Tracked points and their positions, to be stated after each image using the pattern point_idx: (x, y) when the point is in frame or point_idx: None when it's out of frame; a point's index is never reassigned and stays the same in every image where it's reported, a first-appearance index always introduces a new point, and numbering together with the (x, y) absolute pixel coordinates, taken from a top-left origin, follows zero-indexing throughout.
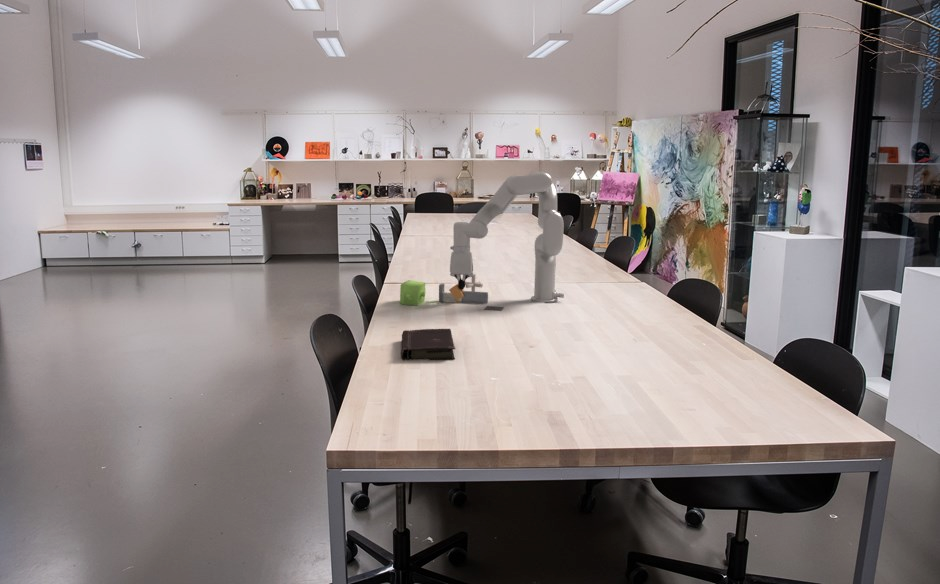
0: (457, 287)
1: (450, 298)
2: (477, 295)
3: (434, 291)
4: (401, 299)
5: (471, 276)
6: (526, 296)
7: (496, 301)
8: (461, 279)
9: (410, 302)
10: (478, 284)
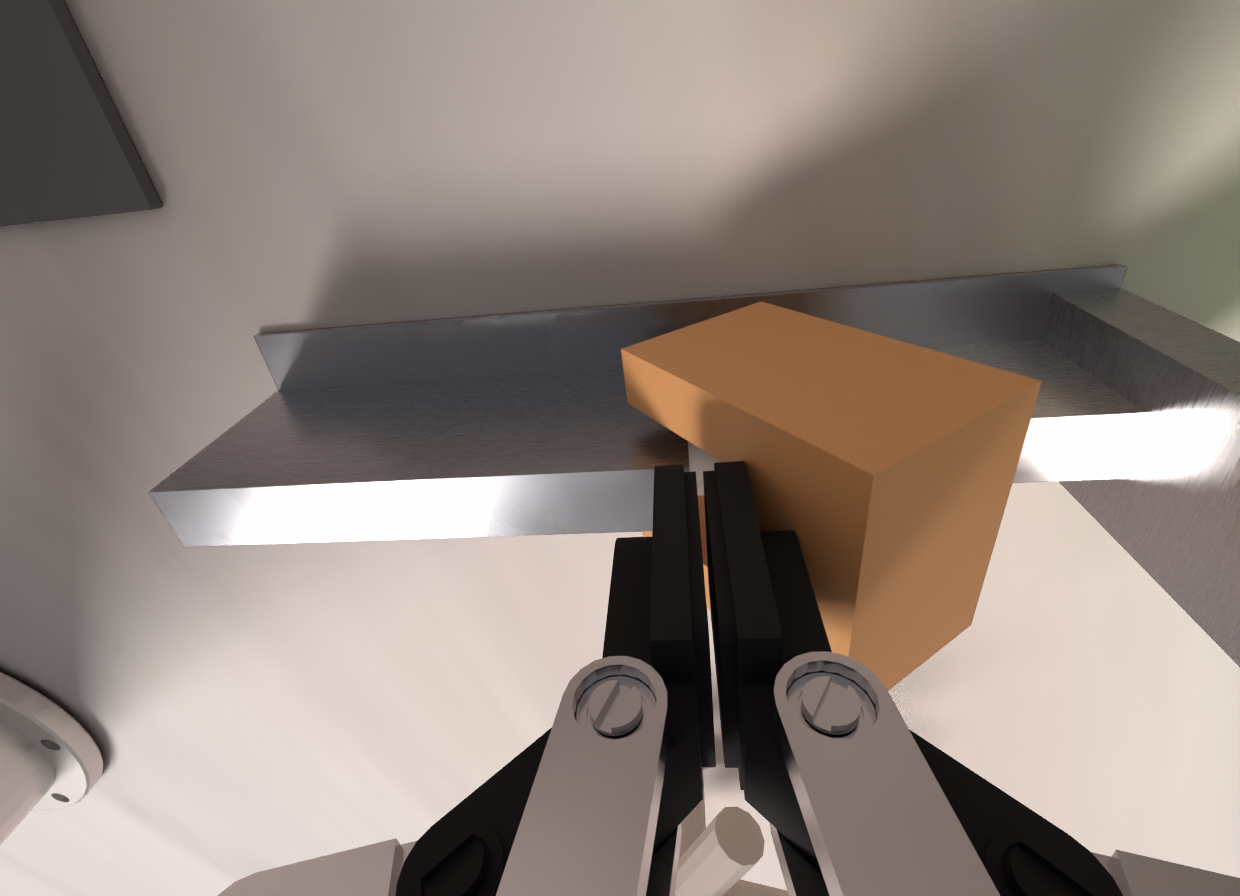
0: (796, 449)
1: None
2: (369, 449)
3: (1151, 805)
4: None
5: (272, 881)
6: (210, 795)
7: (297, 577)
8: (743, 776)
9: None
10: None
